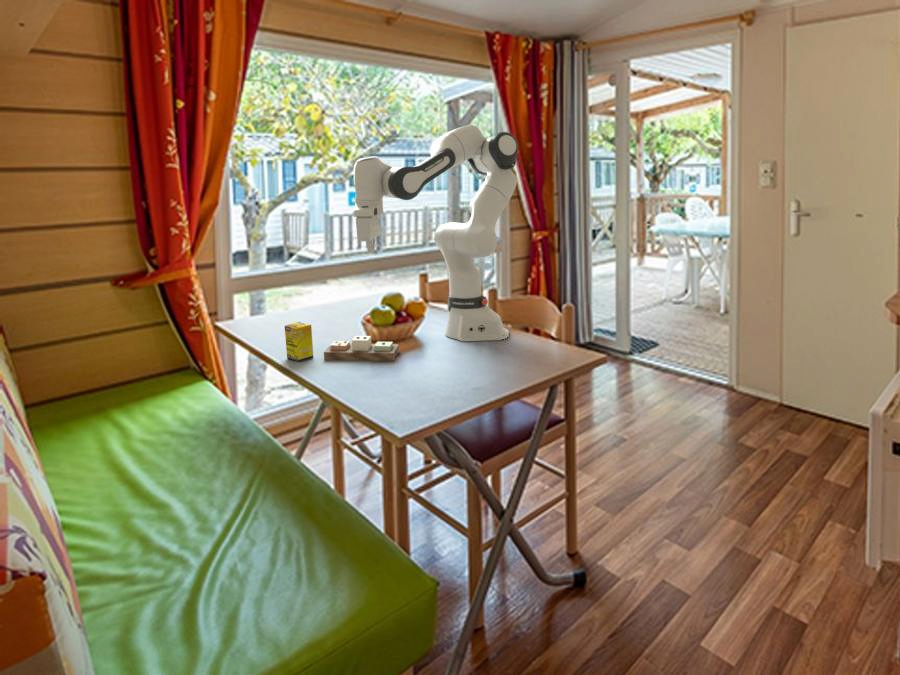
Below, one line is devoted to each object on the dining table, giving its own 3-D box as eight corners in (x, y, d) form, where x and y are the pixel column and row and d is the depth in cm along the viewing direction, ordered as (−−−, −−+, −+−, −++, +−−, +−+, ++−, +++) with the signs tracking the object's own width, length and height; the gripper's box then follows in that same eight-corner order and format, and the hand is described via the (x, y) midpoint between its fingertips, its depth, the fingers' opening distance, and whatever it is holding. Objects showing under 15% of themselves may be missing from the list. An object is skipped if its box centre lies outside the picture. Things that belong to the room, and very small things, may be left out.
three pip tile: (350, 353, 202) (349, 340, 201) (346, 357, 198) (345, 344, 196) (335, 352, 203) (334, 340, 202) (331, 357, 198) (330, 344, 197)
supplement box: (286, 359, 197) (283, 325, 194) (301, 354, 202) (299, 321, 199) (298, 362, 194) (296, 328, 191) (313, 357, 198) (311, 324, 195)
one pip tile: (393, 353, 201) (392, 340, 200) (390, 358, 196) (389, 345, 195) (377, 353, 202) (377, 340, 200) (374, 358, 197) (374, 345, 196)
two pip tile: (371, 348, 201) (370, 335, 200) (368, 352, 196) (367, 339, 195) (356, 347, 202) (355, 335, 201) (352, 352, 197) (351, 339, 196)
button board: (399, 351, 203) (398, 344, 203) (393, 361, 194) (393, 353, 193) (332, 350, 205) (332, 343, 205) (324, 359, 196) (323, 352, 195)
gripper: (366, 206, 212) (368, 247, 216) (352, 211, 192) (354, 256, 196) (385, 206, 211) (386, 247, 215) (372, 211, 192) (374, 256, 195)
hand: (371, 252), depth 205 cm, fingers closed
